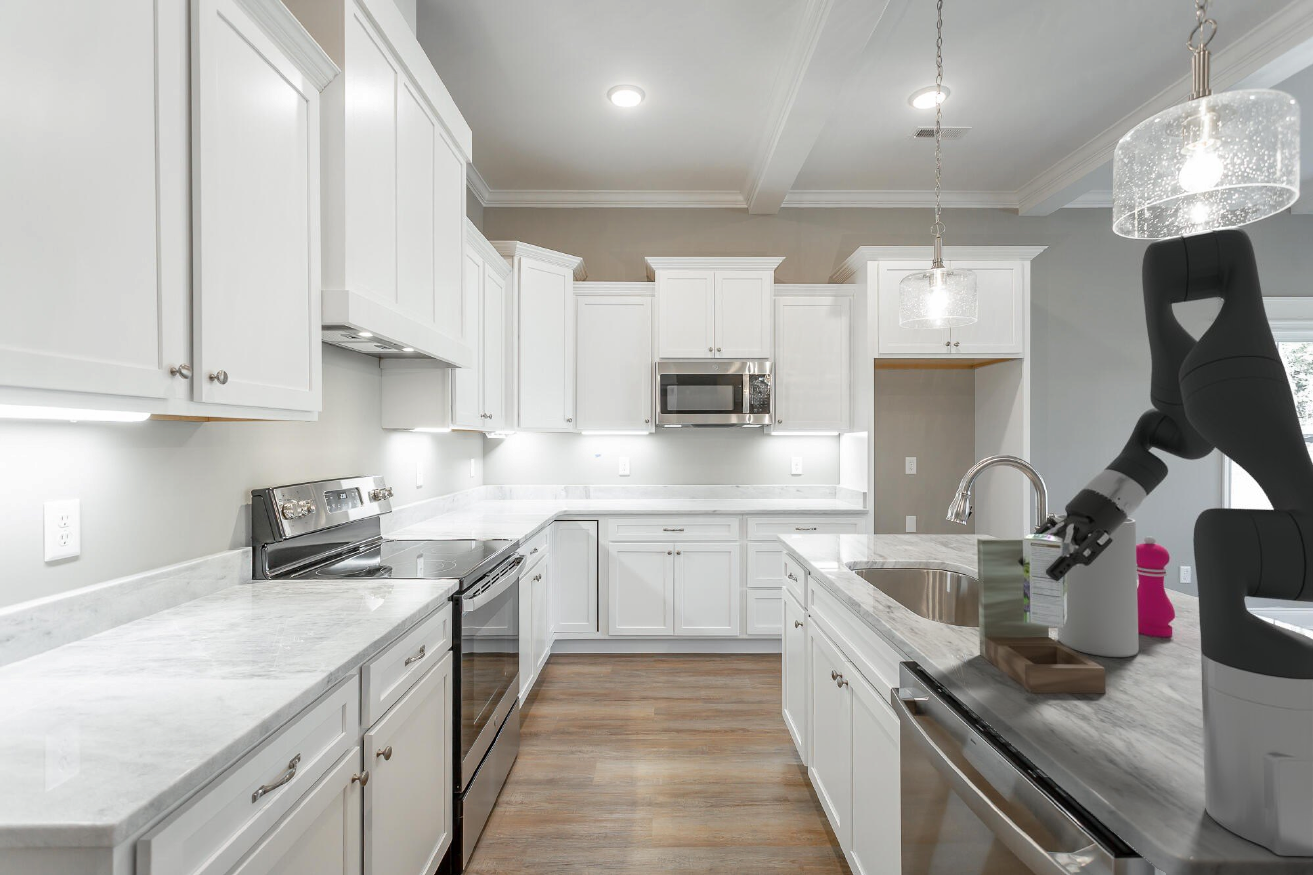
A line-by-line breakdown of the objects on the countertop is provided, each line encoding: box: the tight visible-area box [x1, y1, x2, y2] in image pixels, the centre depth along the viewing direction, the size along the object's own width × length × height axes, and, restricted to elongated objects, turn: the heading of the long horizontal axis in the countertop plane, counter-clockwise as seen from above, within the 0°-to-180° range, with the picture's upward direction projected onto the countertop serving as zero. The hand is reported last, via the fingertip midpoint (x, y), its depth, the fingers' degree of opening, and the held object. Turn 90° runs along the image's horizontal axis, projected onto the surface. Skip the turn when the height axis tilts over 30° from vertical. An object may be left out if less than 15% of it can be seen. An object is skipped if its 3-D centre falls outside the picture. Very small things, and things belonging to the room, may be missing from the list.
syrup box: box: [1023, 533, 1067, 628], centre depth 99 cm, size 6×6×14 cm
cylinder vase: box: [1054, 514, 1140, 658], centre depth 113 cm, size 12×12×25 cm
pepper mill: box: [1136, 535, 1176, 638], centre depth 120 cm, size 7×7×20 cm
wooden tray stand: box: [976, 537, 1107, 694], centre depth 101 cm, size 17×12×22 cm
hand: (1036, 571), depth 99 cm, fingers closed on syrup box, 7 cm apart
